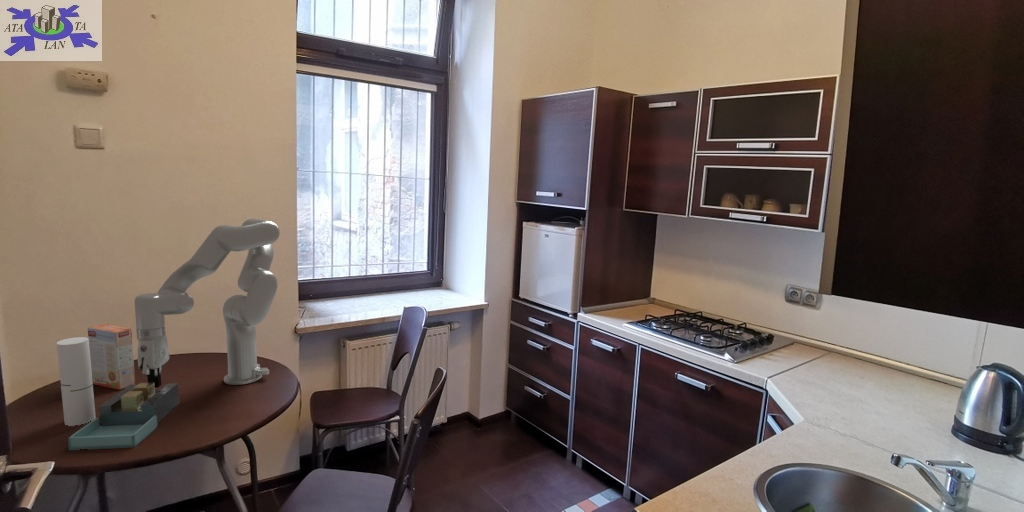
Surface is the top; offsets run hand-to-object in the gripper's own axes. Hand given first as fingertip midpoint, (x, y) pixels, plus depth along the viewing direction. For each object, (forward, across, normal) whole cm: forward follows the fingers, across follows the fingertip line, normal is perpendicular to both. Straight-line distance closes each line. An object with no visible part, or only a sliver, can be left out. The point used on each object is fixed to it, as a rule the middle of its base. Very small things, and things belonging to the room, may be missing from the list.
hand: (154, 386), depth 165 cm
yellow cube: (+1, -13, 0) cm, 13 cm away
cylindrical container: (+6, -10, +16) cm, 20 cm away
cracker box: (+6, +18, +22) cm, 29 cm away
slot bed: (+6, -8, 0) cm, 10 cm away
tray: (+6, -22, 0) cm, 23 cm away
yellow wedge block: (+1, -6, 0) cm, 6 cm away
